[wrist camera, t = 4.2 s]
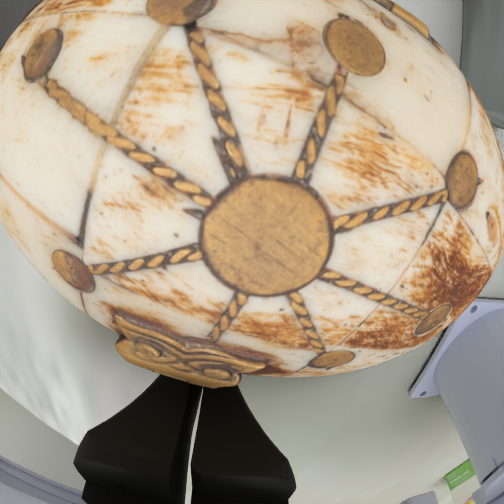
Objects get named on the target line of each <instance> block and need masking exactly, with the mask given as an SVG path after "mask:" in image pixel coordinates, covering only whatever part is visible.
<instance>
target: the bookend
mask: <svg viewBox="0 0 504 504" xmlns="http://www.w3.org/2000/svg"><path fill="white" fill-rule="evenodd" d="M38 1H39V0H0V52H1V50H2V49H3V47H4V45H5V44H6V42H7V40H8V39H9V37H10V35H11V34H12V32H13V31H14V29H15V28H16V26H17V25H18V23H19V22H20V21H21V20H22V18H23V17H24V16H25V15H26V13H27V12H28V11H29V10H30V9H31V8H32V7H33V6H34V5H35V4H36V3H37V2H38Z"/></svg>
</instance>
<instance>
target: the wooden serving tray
mask: <svg viewBox="0 0 504 504" xmlns="http://www.w3.org/2000/svg"><path fill="white" fill-rule="evenodd" d="M460 71H461V72H462V73H463V74H464V75H465V77H466V78H467V80H468V81H469V83H470V84H471V86H472V87H473V89H474V91H475V92H476V94H477V96H478V97H479V99H480V102H481V103H482V105H483V107H484V109H485V111H486V113H487V115H488V117H489V119H490V122H491V124H493V125H495V126H497V127H498V128H501V129H504V0H463V36H462V53H461V65H460Z"/></svg>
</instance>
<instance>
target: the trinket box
mask: <svg viewBox="0 0 504 504" xmlns="http://www.w3.org/2000/svg"><path fill="white" fill-rule="evenodd" d="M0 222H1V223H2V225H3V227H4V229H5V230H6V232H7V233H8V235H9V236H10V238H11V239H12V240H13V242H14V243H15V245H16V246H17V247H18V249H19V250H20V251H21V253H22V254H23V255H24V256H25V258H26V259H27V260H28V261H29V262H30V263H31V265H32V266H33V267H34V268H35V269H36V270H37V271H38V273H39V274H40V275H41V276H42V277H43V278H44V279H45V280H46V281H47V282H48V283H49V284H50V285H51V286H52V287H53V288H54V289H55V290H57V291H58V292H59V293H60V294H61V295H62V296H63V297H65V298H66V299H67V300H68V301H69V302H71V303H72V304H73V305H74V306H76V307H77V308H78V309H80V310H81V311H83V312H84V313H85V314H87V315H88V316H90V317H91V318H93V319H94V320H96V321H97V322H99V323H101V324H102V325H104V326H105V327H107V328H109V329H111V330H112V331H114V332H116V333H117V334H119V339H118V340H117V342H116V349H117V350H118V352H119V353H120V354H121V355H122V356H123V357H124V358H125V359H126V360H127V361H128V362H130V363H132V364H134V365H137V366H140V367H142V368H145V369H148V370H151V371H153V372H156V373H159V374H162V375H165V376H169V377H172V378H175V379H178V380H182V381H185V382H188V383H191V384H195V385H199V386H203V387H208V388H213V389H214V388H218V387H229V386H236V385H238V384H239V383H240V381H241V377H242V376H241V374H247V375H256V376H267V377H286V378H293V377H316V376H326V375H334V374H341V373H347V372H352V371H356V370H361V369H364V368H368V367H372V366H375V365H378V364H381V363H384V362H386V361H389V360H391V359H394V358H396V357H398V356H401V355H403V354H405V353H407V352H409V351H411V350H413V349H415V348H417V347H419V346H420V345H422V344H424V343H425V342H427V341H429V340H430V339H431V338H433V337H434V336H436V335H437V334H438V333H440V332H441V331H442V330H444V329H445V328H446V327H448V326H449V325H450V324H451V323H452V322H454V321H455V320H456V319H457V318H458V317H459V316H460V315H461V314H462V313H463V312H464V311H465V310H466V309H467V308H468V307H469V306H470V305H471V303H472V302H473V301H474V300H475V299H476V297H477V296H478V295H479V293H480V292H481V291H482V289H483V288H484V286H485V285H486V283H487V282H488V280H489V278H490V277H491V275H492V273H493V271H494V270H495V268H496V266H497V264H498V262H499V259H500V257H501V254H502V251H503V248H504V163H503V158H502V154H501V150H500V147H499V144H498V141H497V138H496V135H495V133H494V130H493V127H492V124H491V122H490V119H489V117H488V115H487V113H486V111H485V109H484V107H483V105H482V103H481V102H480V99H479V97H478V96H477V94H476V92H475V91H474V89H473V87H472V86H471V84H470V83H469V81H468V80H467V78H466V77H465V75H464V74H463V73H462V72H461V71H460V69H459V68H458V67H457V65H456V64H455V63H454V61H453V60H452V59H451V58H450V57H449V55H448V54H447V53H446V52H445V51H444V49H443V48H442V47H441V46H440V45H439V44H438V43H437V42H436V41H435V40H434V39H433V38H432V37H431V36H430V34H429V29H428V27H427V26H426V25H425V24H424V23H422V22H421V21H420V20H419V19H417V18H416V17H415V16H413V15H412V14H411V13H409V12H408V11H406V10H404V9H403V8H401V7H400V6H398V5H397V4H395V3H394V2H392V1H390V0H39V1H38V2H37V3H36V4H35V5H34V6H33V7H32V8H31V9H30V10H29V11H28V12H27V13H26V15H25V16H24V17H23V18H22V20H21V21H20V22H19V23H18V25H17V26H16V28H15V29H14V31H13V32H12V34H11V35H10V37H9V39H8V40H7V42H6V44H5V45H4V47H3V49H2V50H1V52H0Z"/></svg>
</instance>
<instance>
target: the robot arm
mask: <svg viewBox="0 0 504 504" xmlns="http://www.w3.org/2000/svg"><path fill="white" fill-rule="evenodd" d="M202 388H203V395H202V401H201V407H200V414H199V420H198V426H197V431H196V437H195V443H194V448H193V454H192V459H191V477H192V496H191V504H289V502H288V499H289V498H290V497H291V495H292V494H293V493H294V491H295V489H296V482H295V478H294V474H293V471H292V468H291V466H290V464H289V461H288V459H287V458H286V457H285V456H284V455H283V454H282V453H281V452H280V450H279V449H278V448H277V447H276V446H275V445H274V444H273V442H272V441H271V440H270V439H269V437H268V436H267V435H266V434H265V432H264V431H263V429H262V428H261V426H260V425H259V423H258V422H257V420H256V419H255V417H254V416H253V414H252V412H251V411H250V409H249V407H248V405H247V404H246V402H245V400H244V398H243V396H242V394H241V391H240V389H239V387H238V385H236V386H229V387H218V388H214V389H213V388H208V387H203V386H199V385H195V384H191V383H188V382H185V381H182V380H178V379H175V378H172V377H169V376H165V375H162V374H160V375H159V376H158V378H157V379H156V380H155V381H154V382H153V383H152V384H151V385H150V386H149V387H148V388H147V389H146V390H145V391H144V392H143V393H142V394H141V395H140V396H138V397H137V398H136V399H135V400H134V401H133V402H131V403H130V404H129V405H128V406H126V407H125V408H124V409H122V410H121V411H120V412H118V413H117V414H115V415H114V416H113V417H111V418H110V419H108V420H106V421H105V422H103V423H101V424H99V425H98V426H96V427H94V428H92V429H91V430H89V431H87V433H86V434H85V436H84V438H83V440H82V442H81V443H80V445H79V448H78V450H77V453H76V456H75V459H74V463H73V464H74V465H75V467H76V469H77V470H78V472H79V473H80V474H81V475H82V477H83V478H84V479H85V480H86V483H85V487H84V490H83V491H80V490H77V489H74V488H71V487H68V486H66V485H63V484H61V483H58V482H56V481H53V480H51V479H48V478H46V477H44V476H41V475H39V474H37V473H35V472H33V471H30V470H28V469H26V468H24V467H22V466H20V465H18V464H16V463H14V462H12V461H10V460H8V459H6V458H5V457H3V456H1V455H0V504H185V494H186V483H187V472H188V463H189V454H190V445H191V437H192V431H193V426H194V422H195V418H196V414H197V409H198V405H199V401H200V397H201V393H202ZM409 394H410V397H411V398H414V399H415V398H424V397H432V396H439V395H441V397H442V399H443V401H444V403H445V405H446V407H447V409H448V411H449V414H450V416H451V418H452V420H453V422H454V424H455V427H456V429H457V431H458V433H459V435H460V438H461V440H462V442H463V445H464V447H465V449H466V452H467V454H468V456H469V459H470V461H471V464H472V466H473V469H474V471H475V474H476V476H477V479H478V481H479V484H480V485H482V486H481V487H480V488H479V489H478V490H476V491H475V492H474V493H473V494H472V496H473V499H474V502H475V504H504V300H494V299H477V298H476V299H475V300H474V301H473V302H472V303H471V305H470V306H469V307H468V308H467V309H466V310H465V311H464V312H463V313H462V314H461V315H460V316H459V317H458V318H457V319H456V320H455V321H454V322H452V323H451V324H450V325H449V327H448V329H447V330H446V332H445V334H444V336H443V338H442V340H441V341H440V343H439V345H438V347H437V348H436V350H435V352H434V354H433V355H432V357H431V359H430V360H429V362H428V364H427V365H426V367H425V369H424V370H423V372H422V373H421V375H420V377H419V378H418V380H417V381H416V383H415V384H414V386H413V387H412V389H411V390H410V392H409ZM400 504H438V501H437V498H436V494H435V492H434V491H431V492H428V493H425V494H421V495H418V496H414V497H411V498H409V499H406V500H404V501H403V502H401V503H400Z"/></svg>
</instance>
